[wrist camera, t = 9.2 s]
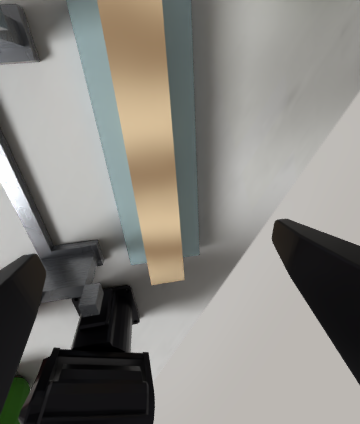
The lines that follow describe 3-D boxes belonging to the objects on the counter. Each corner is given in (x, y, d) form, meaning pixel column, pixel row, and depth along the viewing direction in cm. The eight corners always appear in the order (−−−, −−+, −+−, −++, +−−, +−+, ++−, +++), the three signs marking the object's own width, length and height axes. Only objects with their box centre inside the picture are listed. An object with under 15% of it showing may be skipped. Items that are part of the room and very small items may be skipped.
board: (197, 247, 24) (199, 254, 23) (131, 257, 23) (131, 265, 22) (187, -4, 14) (190, -12, 13) (70, 1, 13) (64, -6, 12)
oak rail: (179, 257, 22) (184, 279, 20) (150, 262, 22) (151, 285, 20) (155, -10, 12) (159, -36, 10) (101, -8, 12) (90, -34, 10)
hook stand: (112, 258, 23) (97, 346, 15) (50, 267, 22) (1, 364, 15) (38, 7, 13) (-117, -109, 5) (-76, 13, 12) (-437, -109, 5)
